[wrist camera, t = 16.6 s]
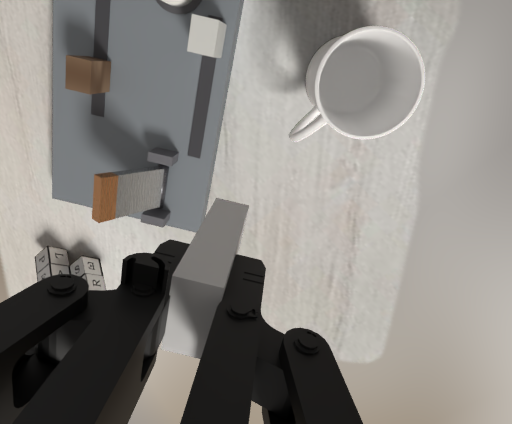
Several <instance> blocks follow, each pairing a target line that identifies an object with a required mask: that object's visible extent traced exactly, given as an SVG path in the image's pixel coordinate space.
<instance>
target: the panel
mask: <svg viewBox="0 0 512 424" xmlns="http://www.w3.org/2000/svg"><path fill="white" fill-rule="evenodd" d="M243 3H244V0H192V1H191V2H190V3H189V4H187V5H185V6H182V7H175V6H171V5H169V4H167V3H165V2H163V1H161V0H53V160H52V198H54V199H58V200H62V201H66V202H71V203H75V204H79V205H83V206H87V207H92V208H93V190H94V174H100V173H107V172H116V171H123V170H131V169H138V168H145V167H153V166H158V164H162V165H166V166H169V173H168V180H167V188H166V196H165V203H164V208H162V209H158V208H154V209H150V210H146V211H142V212H138V213H135V214H131V215H127V216H129V217H134V218H138V219H141V222H143V223H147V224H151V225H155V226H159V227H164V226H165V225H167V226H171V227H176V228H180V229H184V230H188V231H192V232H197V231H198V229H199V228H200V226H201V224H202V222H203V221H204V219H205V215H206V209H207V203H208V198H209V192H210V187H211V181H212V176H213V170H214V164H215V159H216V153H217V148H218V142H219V137H220V131H221V125H222V120H223V114H224V109H225V103H226V98H227V92H228V86H229V81H230V75H231V70H232V64H233V59H234V53H235V47H236V42H237V36H238V31H239V25H240V20H241V14H242V8H243ZM192 14H195V15H199V16H203V17H208V18H212V19H216V20H220V21H221V22H223V23H224V24H226V25H227V27H226V33H225V39H224V45H223V51H222V57H221V58H214V57H209V56H205V55H201V54H197V53H193V52H188V51H187V47H188V40H189V32H190V25H191V17H192ZM66 55H76V56H90V57H94V58H98V59H103V60H107V61H111V74H110V91H109V92H104V93H97V94H86V93H81V92H77V91H73V90H69V89H65V79H66Z"/></svg>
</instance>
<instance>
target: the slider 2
mask: <svg viewBox="0 0 512 424" xmlns="http://www.w3.org/2000/svg"><path fill="white" fill-rule="evenodd" d="M226 27H227V25H226V24H224V23H223V22H221V21H220V20H216V19H212V18H208V17H203V16H199V15H195V14H192V17H191V25H190V32H189V40H188V47H187V51H188V52H193V53H197V54H201V55H205V56H209V57H214V58H221V57H222V51H223V45H224V39H225V33H226Z"/></svg>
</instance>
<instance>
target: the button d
mask: <svg viewBox="0 0 512 424" xmlns="http://www.w3.org/2000/svg"><path fill="white" fill-rule="evenodd" d="M161 1H163V2H165V3H167V4H169V5H171V6H175V7H182V6H185V5H187V4H189V3H190V2H191V1H192V0H161Z"/></svg>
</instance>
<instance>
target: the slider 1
mask: <svg viewBox="0 0 512 424" xmlns="http://www.w3.org/2000/svg"><path fill="white" fill-rule="evenodd" d="M110 74H111V61H107V60H103V59H98V58H94V57H90V56H76V55H66V79H65V89H69V90H73V91H77V92H81V93H86V94H97V93H104V92H109V91H110Z"/></svg>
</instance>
